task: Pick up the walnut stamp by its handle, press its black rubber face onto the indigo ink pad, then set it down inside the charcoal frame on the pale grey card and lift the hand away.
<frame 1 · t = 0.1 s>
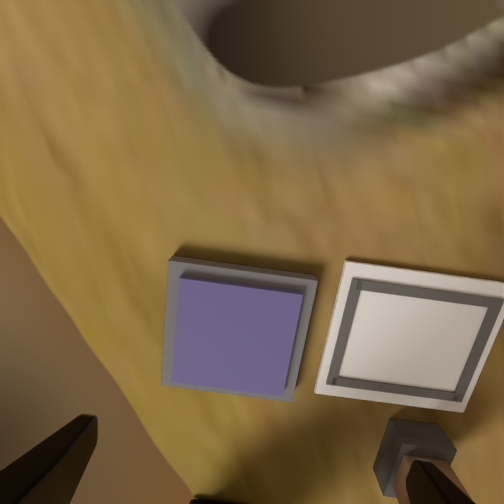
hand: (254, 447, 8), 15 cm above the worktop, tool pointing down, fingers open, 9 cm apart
marked card: (406, 340, 23), on the worktop
ink pad: (235, 328, 24), on the worktop
stamp: (404, 446, 27), on the worktop
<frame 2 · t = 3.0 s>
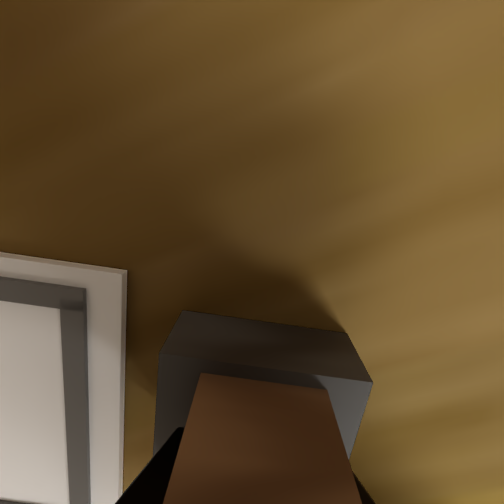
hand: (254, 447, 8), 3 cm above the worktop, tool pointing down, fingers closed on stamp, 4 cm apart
stamp: (256, 373, 11), on the worktop, touching gripper
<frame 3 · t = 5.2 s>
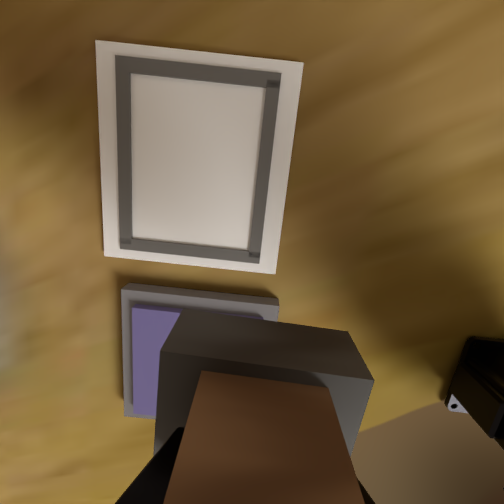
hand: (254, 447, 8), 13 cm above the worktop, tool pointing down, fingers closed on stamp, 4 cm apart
marked card: (195, 168, 19), on the worktop
ink pad: (199, 355, 23), on the worktop
stamp: (256, 372, 11), point 10 cm above the worktop, touching gripper
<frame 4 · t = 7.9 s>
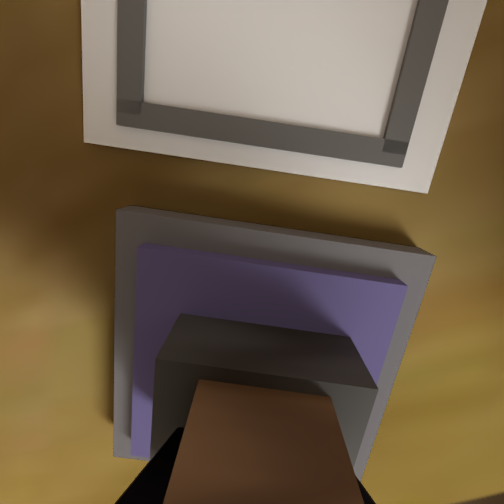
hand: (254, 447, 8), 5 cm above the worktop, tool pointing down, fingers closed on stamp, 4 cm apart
ink pad: (254, 350, 12), on the worktop
stamp: (256, 378, 11), point 2 cm above the worktop, touching gripper, ink pad
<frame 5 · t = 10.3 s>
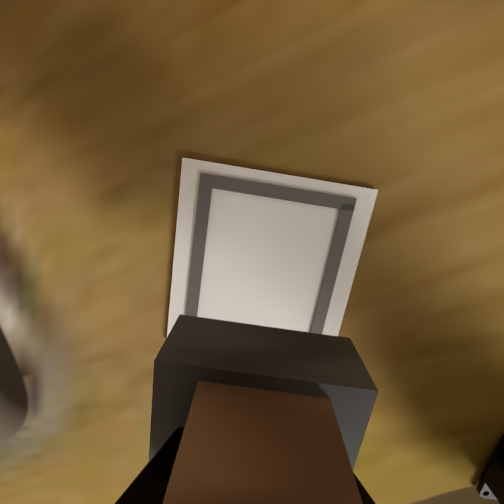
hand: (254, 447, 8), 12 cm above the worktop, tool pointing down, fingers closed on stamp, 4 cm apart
marked card: (262, 271, 20), on the worktop
stamp: (255, 379, 11), point 9 cm above the worktop, touching gripper
when the fingers open (5 cm above the worktop, at t = 12.4 s): stamp drops 1 cm, resting on marked card.
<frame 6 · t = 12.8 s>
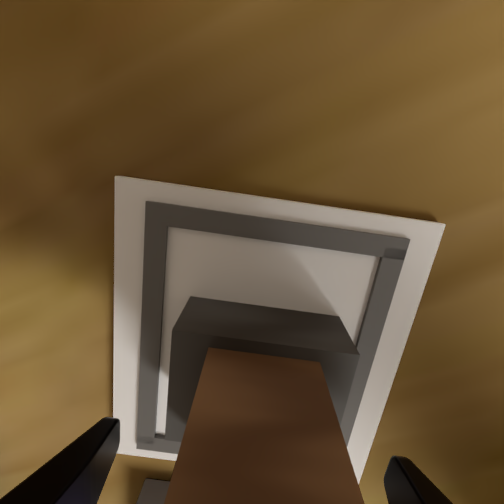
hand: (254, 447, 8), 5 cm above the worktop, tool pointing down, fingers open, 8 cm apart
marked card: (255, 348, 12), on the worktop
stamp: (257, 354, 12), resting on marked card
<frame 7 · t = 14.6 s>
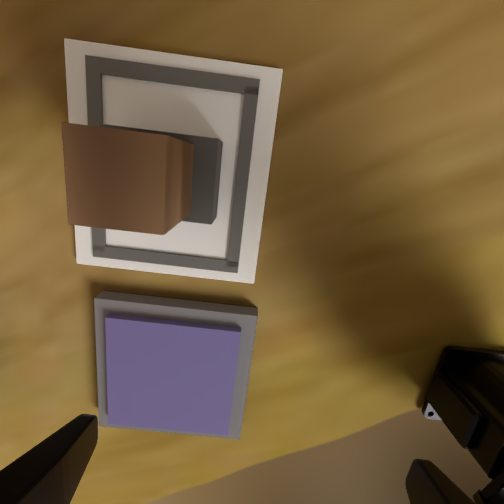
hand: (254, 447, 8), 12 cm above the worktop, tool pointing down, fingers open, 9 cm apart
marked card: (171, 175, 18), on the worktop
ink pad: (177, 363, 22), on the worktop
stamp: (171, 175, 18), resting on marked card
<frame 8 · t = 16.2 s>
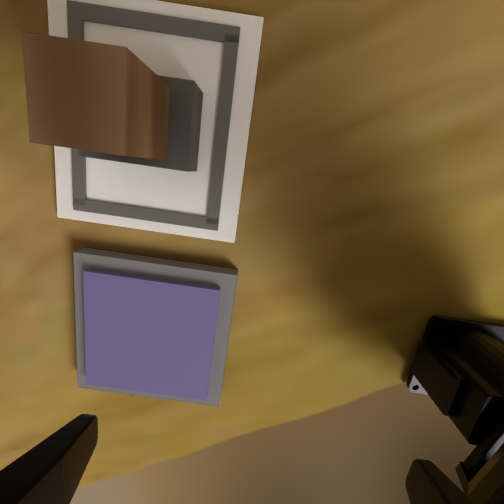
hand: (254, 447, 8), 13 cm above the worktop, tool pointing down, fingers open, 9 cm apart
marked card: (152, 127, 18), on the worktop
ink pad: (157, 326, 22), on the worktop
stamp: (151, 126, 18), resting on marked card
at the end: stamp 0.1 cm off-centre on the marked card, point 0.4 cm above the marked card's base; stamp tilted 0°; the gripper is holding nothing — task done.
